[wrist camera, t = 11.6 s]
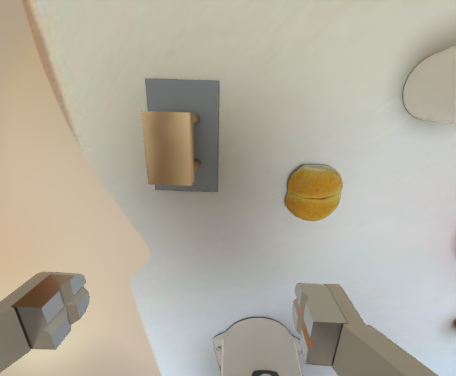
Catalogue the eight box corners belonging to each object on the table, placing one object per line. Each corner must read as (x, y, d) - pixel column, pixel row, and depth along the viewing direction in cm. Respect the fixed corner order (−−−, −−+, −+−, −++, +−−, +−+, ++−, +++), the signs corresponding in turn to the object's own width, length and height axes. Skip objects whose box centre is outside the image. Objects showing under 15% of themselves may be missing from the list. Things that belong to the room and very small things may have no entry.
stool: (201, 112, 30) (189, 112, 22) (201, 168, 32) (191, 185, 24) (166, 111, 30) (141, 110, 22) (169, 167, 32) (148, 184, 24)
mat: (217, 191, 34) (217, 192, 34) (156, 188, 34) (155, 189, 34) (219, 81, 29) (218, 80, 28) (146, 79, 29) (145, 78, 28)
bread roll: (282, 214, 35) (287, 226, 32) (289, 162, 32) (296, 168, 29) (331, 217, 35) (342, 229, 31) (343, 164, 32) (357, 171, 28)
